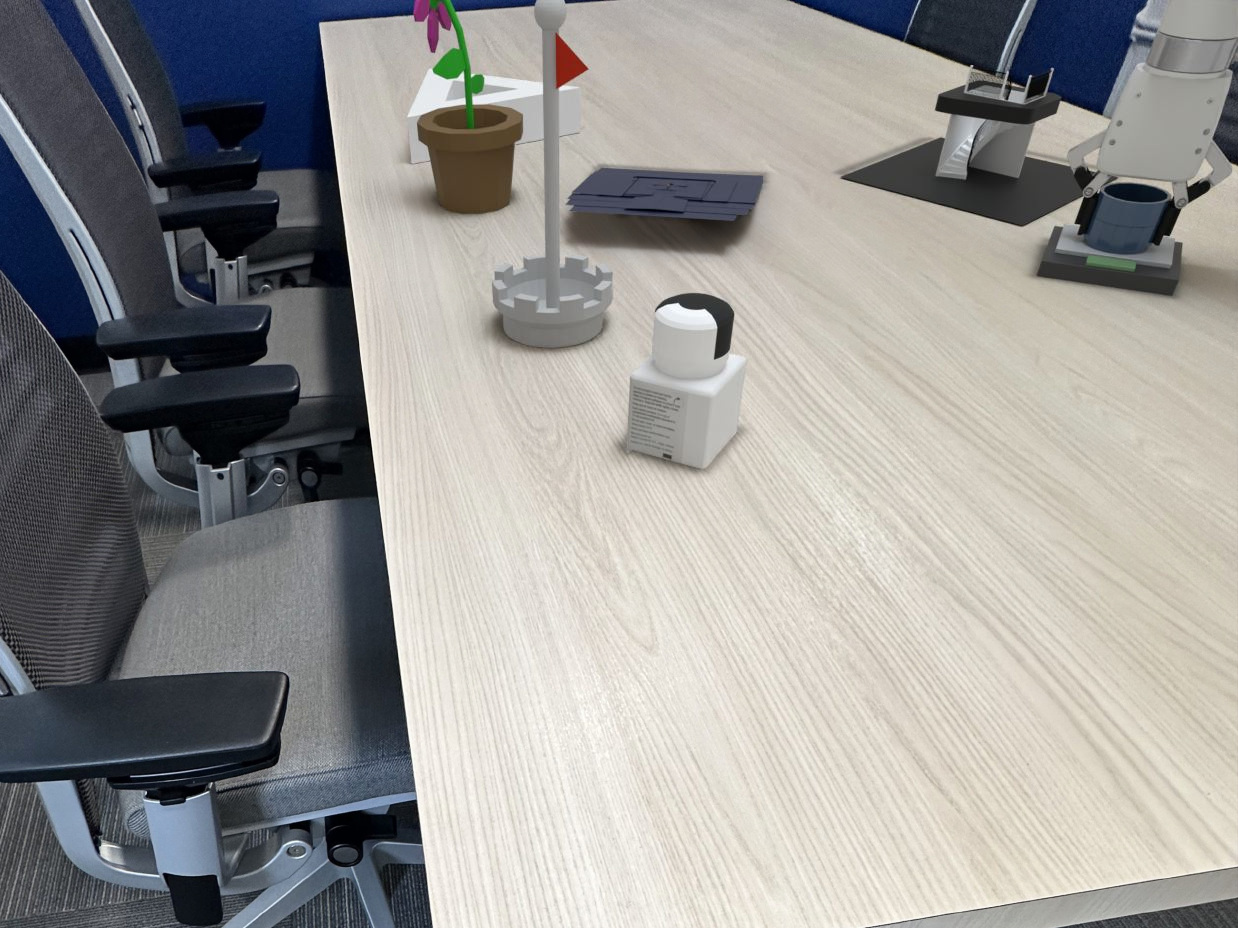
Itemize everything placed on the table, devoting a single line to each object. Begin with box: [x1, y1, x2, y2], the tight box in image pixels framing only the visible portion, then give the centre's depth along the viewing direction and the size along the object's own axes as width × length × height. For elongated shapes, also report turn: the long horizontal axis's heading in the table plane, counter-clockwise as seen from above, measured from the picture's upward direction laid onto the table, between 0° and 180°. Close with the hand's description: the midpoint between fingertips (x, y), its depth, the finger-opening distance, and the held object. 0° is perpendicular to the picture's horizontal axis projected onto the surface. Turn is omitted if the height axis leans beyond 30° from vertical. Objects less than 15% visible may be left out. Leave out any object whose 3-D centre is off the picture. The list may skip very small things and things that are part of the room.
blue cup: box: [1083, 181, 1173, 254], centre depth 109 cm, size 7×7×5 cm
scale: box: [1036, 223, 1184, 297], centre depth 111 cm, size 14×12×3 cm
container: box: [625, 292, 748, 470], centre depth 83 cm, size 8×8×13 cm
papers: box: [565, 167, 764, 222], centre depth 130 cm, size 24×30×4 cm
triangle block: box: [406, 67, 582, 165], centre depth 155 cm, size 30×26×6 cm
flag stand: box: [491, 0, 614, 349], centre depth 95 cm, size 13×13×30 cm
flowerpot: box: [412, 0, 523, 214], centre depth 125 cm, size 14×14×30 cm
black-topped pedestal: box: [840, 64, 1119, 226], centre depth 132 cm, size 28×26×13 cm
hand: (1118, 235), depth 110 cm, fingers closed on blue cup, 7 cm apart
